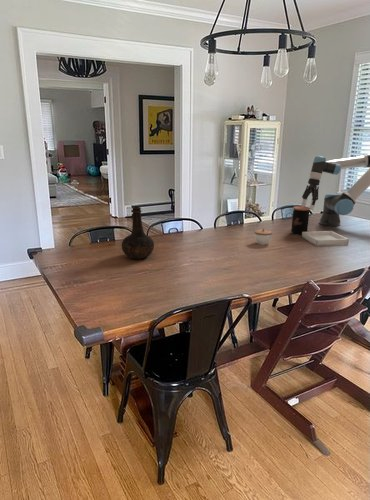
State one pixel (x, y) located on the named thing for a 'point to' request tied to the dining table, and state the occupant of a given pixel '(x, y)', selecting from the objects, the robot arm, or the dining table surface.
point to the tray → (325, 238)
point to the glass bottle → (137, 239)
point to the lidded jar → (263, 236)
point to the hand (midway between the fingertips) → (306, 208)
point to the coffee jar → (300, 220)
